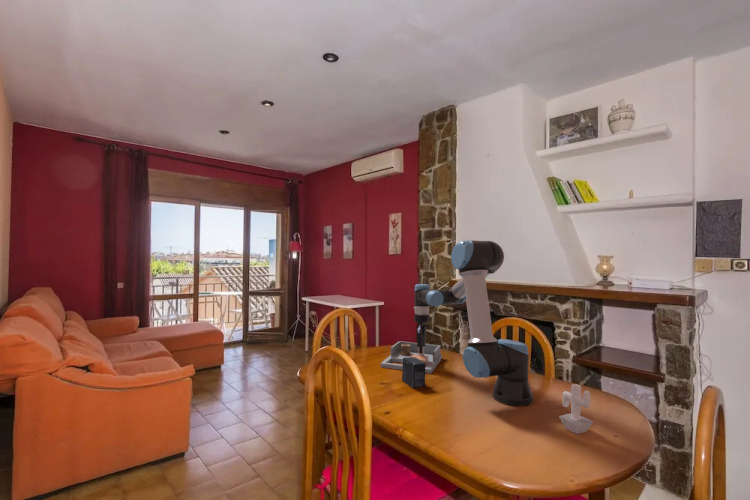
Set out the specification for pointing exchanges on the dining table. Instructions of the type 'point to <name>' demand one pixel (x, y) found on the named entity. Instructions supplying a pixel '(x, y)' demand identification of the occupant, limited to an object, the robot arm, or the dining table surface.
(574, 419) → the figurine
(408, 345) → the walnut block
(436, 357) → the cubby deck
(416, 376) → the box
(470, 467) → the dining table surface
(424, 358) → the terracotta tile
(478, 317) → the robot arm
